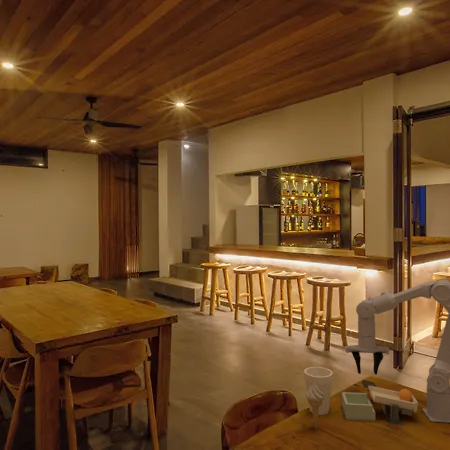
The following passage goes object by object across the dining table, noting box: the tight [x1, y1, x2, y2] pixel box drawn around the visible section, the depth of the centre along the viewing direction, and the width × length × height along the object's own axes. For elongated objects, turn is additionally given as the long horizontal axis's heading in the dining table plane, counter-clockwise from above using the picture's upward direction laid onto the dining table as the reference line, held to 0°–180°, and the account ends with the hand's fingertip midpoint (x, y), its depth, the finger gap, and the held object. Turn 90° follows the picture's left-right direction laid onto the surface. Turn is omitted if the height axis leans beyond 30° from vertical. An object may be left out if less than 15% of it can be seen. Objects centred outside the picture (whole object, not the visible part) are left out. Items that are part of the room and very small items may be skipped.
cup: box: [341, 391, 376, 422], centre depth 129 cm, size 9×9×5 cm
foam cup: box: [303, 366, 334, 416], centre depth 132 cm, size 10×9×13 cm
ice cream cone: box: [305, 381, 324, 430], centre depth 121 cm, size 6×6×15 cm
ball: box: [398, 388, 413, 402], centre depth 127 cm, size 4×4×4 cm
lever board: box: [361, 379, 419, 417], centre depth 132 cm, size 14×15×5 cm
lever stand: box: [380, 404, 404, 426], centre depth 128 cm, size 4×11×6 cm, turn 171°
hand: (367, 373), depth 138 cm, fingers open, 5 cm apart
